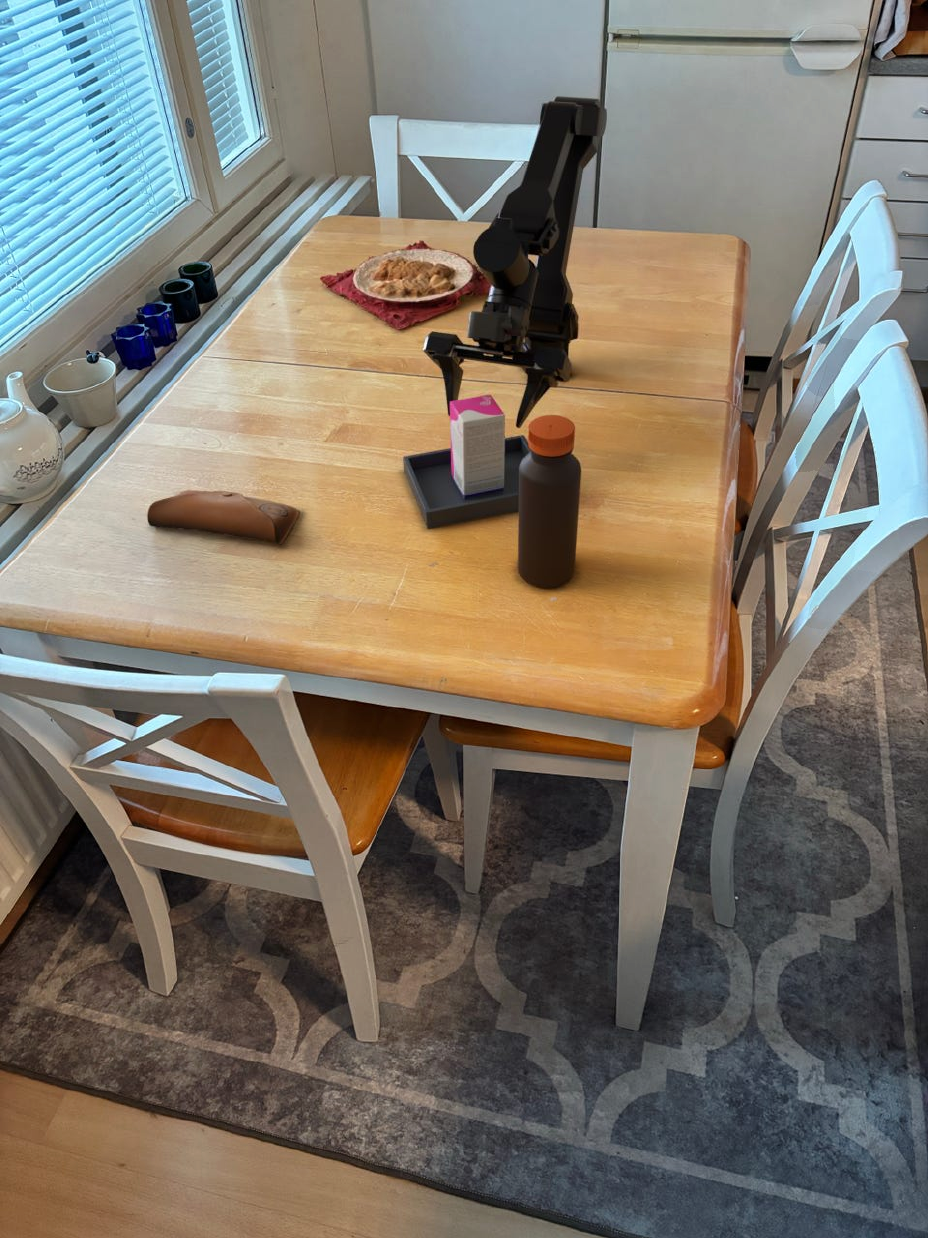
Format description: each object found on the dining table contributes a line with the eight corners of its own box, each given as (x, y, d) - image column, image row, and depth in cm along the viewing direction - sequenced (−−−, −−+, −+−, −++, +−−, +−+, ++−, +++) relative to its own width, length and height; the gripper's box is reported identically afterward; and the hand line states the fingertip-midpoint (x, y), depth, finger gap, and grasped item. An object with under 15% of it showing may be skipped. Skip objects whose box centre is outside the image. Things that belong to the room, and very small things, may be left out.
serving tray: (523, 450, 132) (523, 434, 131) (555, 504, 123) (556, 487, 121) (404, 472, 129) (402, 456, 128) (427, 529, 120) (426, 512, 118)
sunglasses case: (303, 506, 123) (286, 485, 117) (290, 556, 122) (273, 537, 115) (178, 490, 127) (155, 469, 121) (164, 539, 125) (140, 519, 119)
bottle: (581, 584, 111) (592, 438, 98) (526, 594, 110) (529, 448, 97) (565, 549, 116) (573, 405, 102) (511, 558, 115) (512, 414, 102)
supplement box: (506, 490, 124) (506, 414, 117) (463, 500, 123) (460, 423, 115) (491, 467, 128) (490, 392, 121) (450, 476, 127) (446, 400, 119)
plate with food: (422, 249, 185) (421, 232, 183) (506, 288, 170) (505, 269, 167) (319, 286, 175) (316, 267, 173) (397, 330, 160) (395, 311, 157)
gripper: (423, 270, 117) (396, 394, 117) (570, 287, 112) (542, 416, 112) (448, 303, 128) (423, 416, 128) (582, 320, 123) (557, 438, 123)
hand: (483, 421), depth 122 cm, fingers open, 9 cm apart
